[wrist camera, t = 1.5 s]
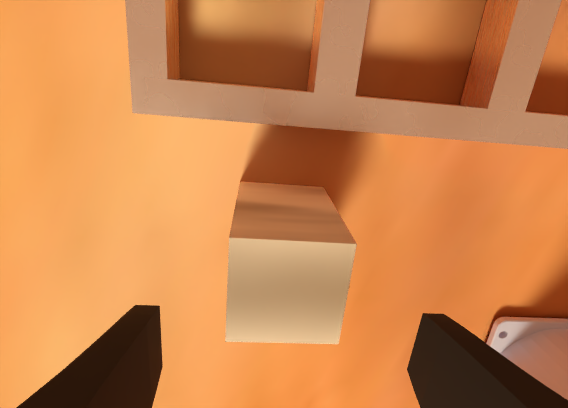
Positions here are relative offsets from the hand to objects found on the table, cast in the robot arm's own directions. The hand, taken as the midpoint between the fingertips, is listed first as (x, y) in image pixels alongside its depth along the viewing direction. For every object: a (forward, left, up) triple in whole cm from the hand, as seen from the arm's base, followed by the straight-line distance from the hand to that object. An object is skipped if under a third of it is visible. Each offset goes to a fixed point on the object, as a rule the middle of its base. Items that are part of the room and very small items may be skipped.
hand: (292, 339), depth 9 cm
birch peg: (0, 0, -8) cm, 8 cm away
